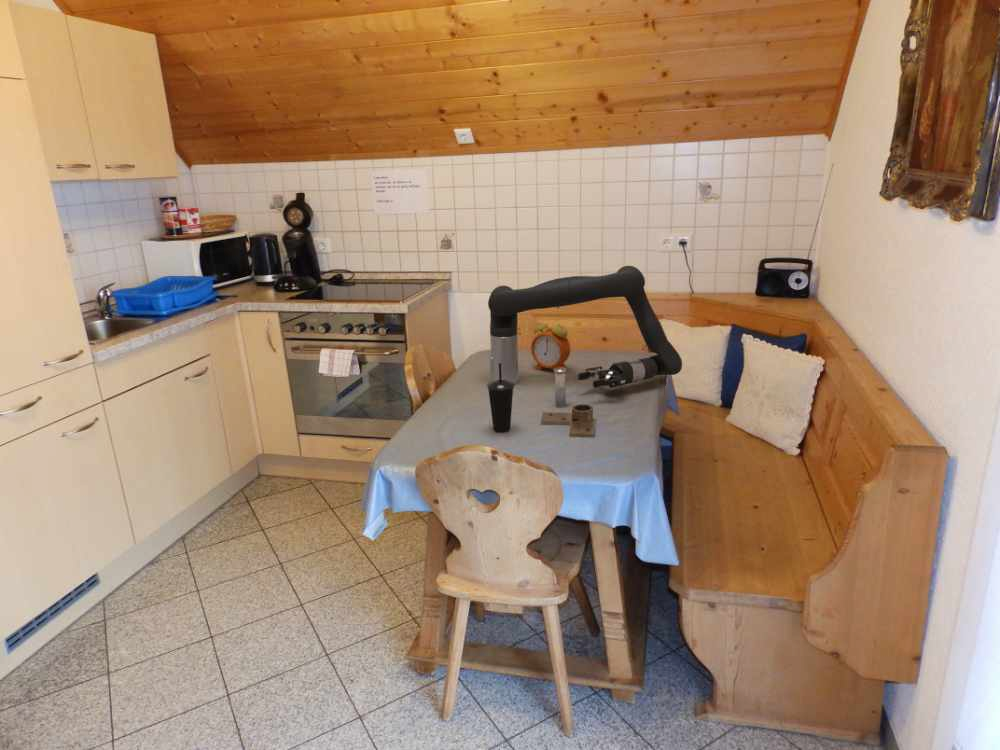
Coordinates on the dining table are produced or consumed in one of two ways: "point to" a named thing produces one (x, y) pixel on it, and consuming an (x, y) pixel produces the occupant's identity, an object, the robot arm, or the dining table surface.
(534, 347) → the alarm clock
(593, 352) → the dining table surface
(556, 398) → the hinge pin
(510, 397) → the drinking cup
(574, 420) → the hinge base
